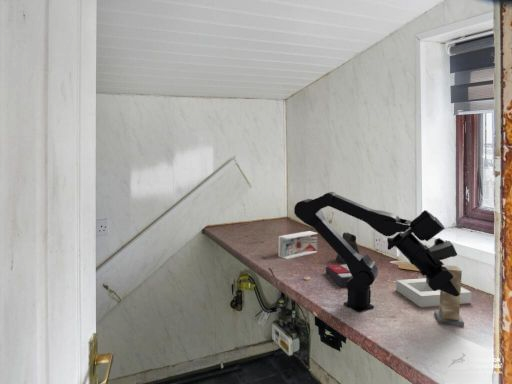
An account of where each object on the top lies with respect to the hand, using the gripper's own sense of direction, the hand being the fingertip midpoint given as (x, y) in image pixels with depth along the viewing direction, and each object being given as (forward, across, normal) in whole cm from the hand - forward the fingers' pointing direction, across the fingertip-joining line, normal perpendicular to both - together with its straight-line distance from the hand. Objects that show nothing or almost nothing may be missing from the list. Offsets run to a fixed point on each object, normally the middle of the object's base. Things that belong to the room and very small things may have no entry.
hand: (455, 292), depth 97 cm
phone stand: (-15, +49, +26) cm, 57 cm away
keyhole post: (+5, 0, +7) cm, 8 cm away
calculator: (-14, +26, +27) cm, 40 cm away
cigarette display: (-30, +54, +42) cm, 75 cm away
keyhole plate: (+4, +17, +8) cm, 19 cm away
